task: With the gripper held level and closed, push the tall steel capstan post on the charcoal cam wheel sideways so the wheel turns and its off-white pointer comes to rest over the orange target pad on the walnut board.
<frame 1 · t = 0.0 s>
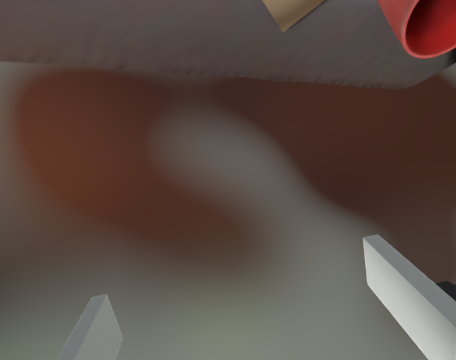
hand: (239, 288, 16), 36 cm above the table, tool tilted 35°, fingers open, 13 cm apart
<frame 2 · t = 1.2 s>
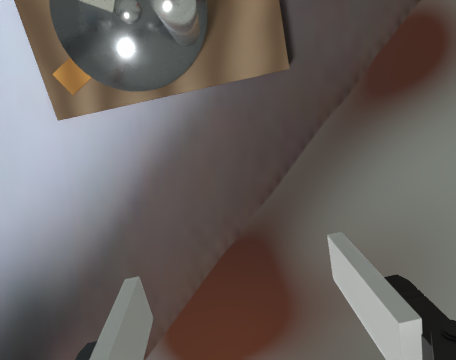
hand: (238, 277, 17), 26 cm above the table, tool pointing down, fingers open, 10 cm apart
walnut base board: (154, 15, 36), on the table
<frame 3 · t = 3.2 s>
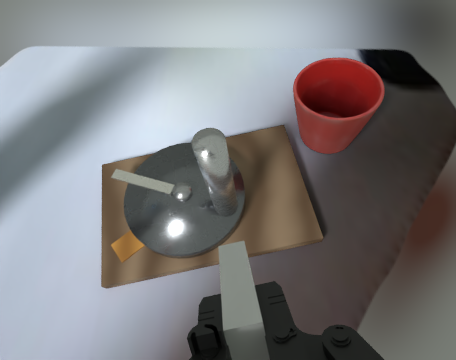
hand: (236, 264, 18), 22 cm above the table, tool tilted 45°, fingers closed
walnut base board: (203, 202, 45), on the table
flower pot: (325, 133, 48), on the table
cam wheel: (161, 168, 36), point 10 cm above the table, hinge at -30.0°
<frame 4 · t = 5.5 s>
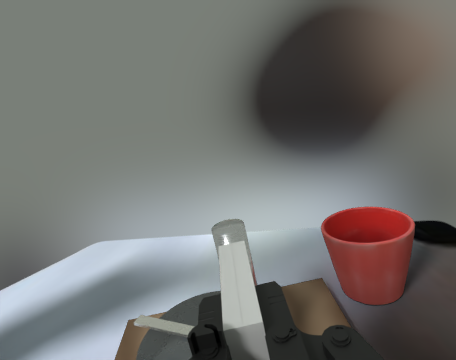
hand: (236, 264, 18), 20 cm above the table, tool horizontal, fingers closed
walnut base board: (231, 359, 37), on the table
flower pot: (371, 287, 43), on the table
cam wheel: (184, 290, 35), point 10 cm above the table, hinge at -30.0°
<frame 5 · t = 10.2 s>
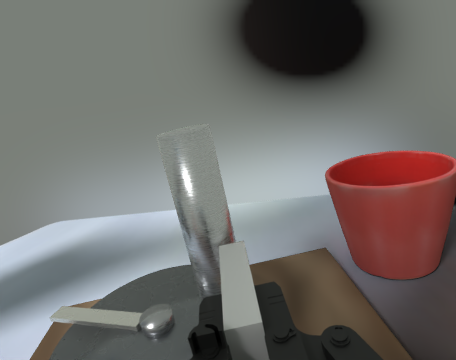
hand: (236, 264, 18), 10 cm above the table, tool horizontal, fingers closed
walnut base board: (197, 359, 25), on the table
flower pot: (392, 259, 32), on the table
cam wheel: (121, 256, 22), point 10 cm above the table, hinge at -24.0°, touching gripper
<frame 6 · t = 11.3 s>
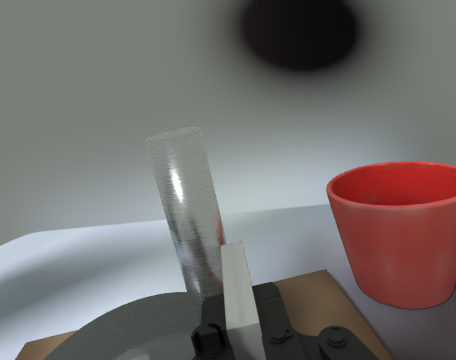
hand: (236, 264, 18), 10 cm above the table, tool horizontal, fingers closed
flower pot: (400, 282, 29), on the table
cam wheel: (81, 304, 18), point 10 cm above the table, hinge at 9.4°, touching gripper
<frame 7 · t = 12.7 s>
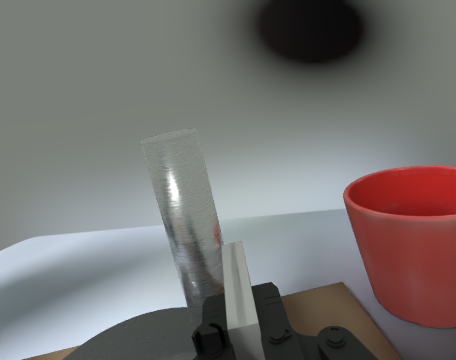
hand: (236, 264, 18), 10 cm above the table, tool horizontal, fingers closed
flower pot: (424, 296, 26), on the table
cam wheel: (75, 333, 15), point 10 cm above the table, hinge at 27.1°, touching gripper
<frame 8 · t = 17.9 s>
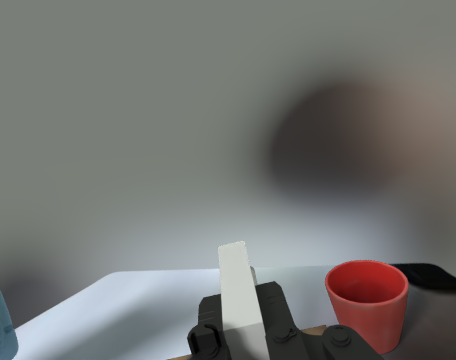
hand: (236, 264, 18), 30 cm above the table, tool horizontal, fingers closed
flower pot: (370, 335, 48), on the table
cam wheel: (205, 356, 38), point 10 cm above the table, hinge at 27.2°
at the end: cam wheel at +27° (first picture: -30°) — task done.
